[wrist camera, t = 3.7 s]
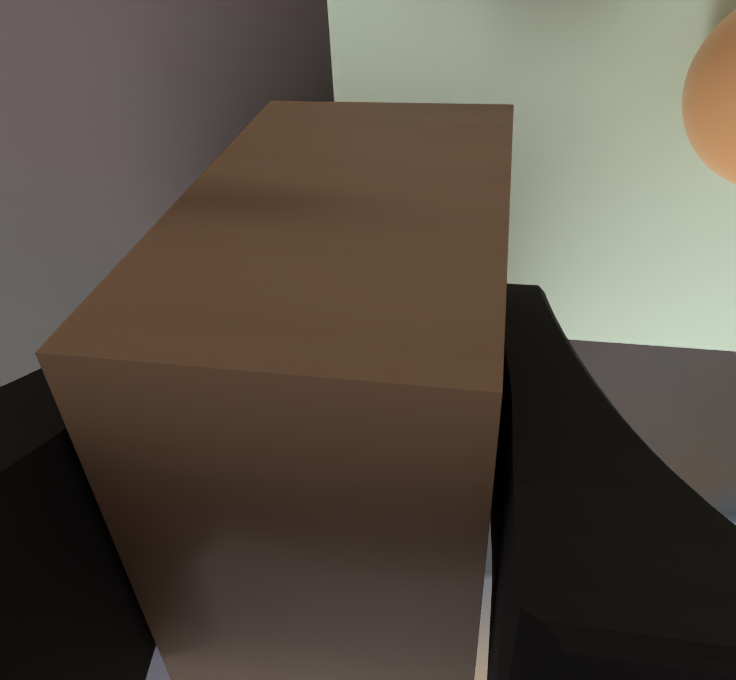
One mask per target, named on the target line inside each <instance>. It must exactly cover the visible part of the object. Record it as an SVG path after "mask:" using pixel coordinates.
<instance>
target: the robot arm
mask: <svg viewBox="0 0 736 680" xmlns="http://www.w3.org/2000/svg"><path fill="white" fill-rule="evenodd" d="M490 521H491V543H492V596H491V617H490V637H489V655H488V673H487V674H488V675H487V680H736V525H734V524H733V523H732V522H731V521H729V520H728V519H727V518H726V517H724V516H723V515H722V514H721V513H720V512H718V511H717V510H716V509H715V508H714V507H712V506H711V505H710V504H709V503H708V502H707V501H705V500H704V499H703V498H702V497H701V496H700V495H699V494H698V493H697V492H695V491H694V490H693V489H692V488H691V487H690V486H689V485H688V484H687V483H685V482H684V481H683V480H682V479H681V478H680V477H679V476H678V475H676V474H675V473H674V472H673V471H672V470H671V469H670V468H669V467H668V466H667V465H666V464H665V463H664V462H663V461H662V460H661V459H660V458H659V457H658V456H657V455H656V454H655V453H654V452H653V451H652V450H651V449H650V448H649V447H648V446H647V445H646V443H645V442H644V441H643V440H642V439H641V438H640V437H639V436H638V435H637V434H636V432H635V431H634V430H633V429H632V428H631V427H630V426H629V424H628V423H627V422H626V421H625V420H624V419H623V417H622V416H621V415H620V414H619V412H618V411H617V410H616V409H615V407H614V406H613V405H612V404H611V402H610V401H609V400H608V398H607V397H606V396H605V394H604V393H603V392H602V390H601V389H600V388H599V386H598V385H597V383H596V382H595V381H594V379H593V378H592V376H591V375H590V373H589V372H588V371H587V369H586V367H585V366H584V364H583V363H582V361H581V360H580V358H579V356H578V355H577V353H576V352H575V350H574V349H573V347H572V345H571V344H570V342H569V340H568V339H567V337H566V335H565V334H564V332H563V330H562V328H561V326H560V324H559V322H558V321H557V319H556V317H555V315H554V313H553V311H552V309H551V306H550V304H549V302H548V299H547V297H546V294H545V292H544V291H543V290H542V289H541V287H540V286H539V285H525V284H508V283H507V289H506V314H505V340H504V365H503V391H502V402H501V412H500V422H499V433H498V443H497V453H496V463H495V473H494V483H493V493H492V504H491V514H490ZM0 680H171V679H170V677H169V674H168V672H167V669H166V667H165V665H164V662H163V660H162V657H161V655H160V652H159V650H158V648H157V645H156V643H155V640H154V638H153V636H152V633H151V631H150V628H149V626H148V624H147V621H146V619H145V616H144V614H143V612H142V609H141V607H140V604H139V602H138V599H137V597H136V595H135V592H134V590H133V587H132V585H131V583H130V580H129V578H128V575H127V573H126V571H125V568H124V566H123V563H122V561H121V558H120V556H119V554H118V551H117V549H116V546H115V544H114V542H113V539H112V537H111V534H110V532H109V530H108V527H107V525H106V522H105V520H104V518H103V515H102V513H101V510H100V508H99V505H98V503H97V501H96V498H95V496H94V493H93V491H92V489H91V486H90V484H89V481H88V479H87V477H86V474H85V472H84V469H83V467H82V464H81V462H80V460H79V457H78V455H77V452H76V450H75V448H74V445H73V443H72V440H71V438H70V436H69V433H68V431H67V428H66V426H65V424H64V421H63V419H62V416H61V414H60V411H59V409H58V407H57V404H56V402H55V399H54V397H53V395H52V392H51V390H50V387H49V385H48V383H47V380H46V378H45V375H44V373H43V370H42V368H41V369H39V370H37V371H34V372H32V373H30V374H28V375H26V376H24V377H21V378H19V379H17V380H15V381H13V382H11V383H8V384H6V385H4V386H1V387H0Z"/></svg>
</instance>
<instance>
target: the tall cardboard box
mask: <svg viewBox="0 0 736 680" xmlns="http://www.w3.org/2000/svg"><path fill="white" fill-rule="evenodd" d="M513 111H514V104H454V103H389V102H324V101H270V102H269V103H268V104H267V105H266V106H265V107H264V108H263V109H262V110H261V111H260V113H259V114H258V115H257V116H256V117H255V118H254V119H253V120H252V121H251V122H250V123H249V124H248V125H247V126H246V128H245V129H244V130H243V131H242V132H241V133H240V134H239V135H238V136H237V137H236V138H235V139H234V140H233V141H232V142H231V144H230V145H229V146H228V147H227V148H226V149H225V150H224V151H223V152H222V153H221V154H220V155H219V156H218V157H217V159H216V160H215V161H214V162H213V163H212V164H211V165H210V166H209V167H208V168H207V169H206V170H205V171H204V172H203V174H202V175H201V176H200V177H199V178H198V179H197V180H196V181H195V182H194V183H193V184H192V185H191V186H190V187H189V189H188V190H187V191H186V192H185V193H184V194H183V195H182V196H181V197H180V198H179V199H178V200H177V201H176V202H175V204H174V205H173V206H172V207H171V208H170V209H169V210H168V211H167V212H166V213H165V214H164V215H163V216H162V217H161V219H160V220H159V221H158V222H157V223H156V224H155V225H154V226H153V227H152V228H151V229H150V230H149V231H148V232H147V234H146V235H145V236H144V237H143V238H142V239H141V240H140V241H139V242H138V243H137V244H136V245H135V246H134V247H133V248H132V250H131V251H130V252H129V253H128V254H127V255H126V256H125V257H124V258H123V259H122V260H121V261H120V262H119V263H118V265H117V266H116V267H115V268H114V269H113V270H112V271H111V272H110V273H109V274H108V275H107V276H106V277H105V278H104V280H103V281H102V282H101V283H100V284H99V285H98V286H97V287H96V288H95V289H94V290H93V291H92V292H91V293H90V295H89V296H88V297H87V298H86V299H85V300H84V301H83V302H82V303H81V304H80V305H79V306H78V307H77V308H76V310H75V311H74V312H73V313H72V314H71V315H70V316H69V317H68V318H67V319H66V320H65V321H64V322H63V323H62V325H61V326H60V327H59V328H58V329H57V330H56V331H55V332H54V333H53V334H52V335H51V336H50V337H49V338H48V340H47V341H46V342H45V343H44V344H43V345H42V346H41V347H40V348H39V349H38V350H37V351H36V352H35V354H36V356H37V358H38V361H39V363H40V366H41V368H42V370H43V373H44V375H45V378H46V380H47V383H48V385H49V387H50V390H51V392H52V395H53V397H54V399H55V402H56V404H57V407H58V409H59V411H60V414H61V416H62V419H63V421H64V424H65V426H66V428H67V431H68V433H69V436H70V438H71V440H72V443H73V445H74V448H75V450H76V452H77V455H78V457H79V460H80V462H81V464H82V467H83V469H84V472H85V474H86V477H87V479H88V481H89V484H90V486H91V489H92V491H93V493H94V496H95V498H96V501H97V503H98V505H99V508H100V510H101V513H102V515H103V518H104V520H105V522H106V525H107V527H108V530H109V532H110V534H111V537H112V539H113V542H114V544H115V546H116V549H117V551H118V554H119V556H120V558H121V561H122V563H123V566H124V568H125V571H126V573H127V575H128V578H129V580H130V583H131V585H132V587H133V590H134V592H135V595H136V597H137V599H138V602H139V604H140V607H141V609H142V612H143V614H144V616H145V619H146V621H147V624H148V626H149V628H150V631H151V633H152V636H153V638H154V640H155V643H156V645H157V648H158V650H159V652H160V655H161V657H162V660H163V662H164V665H165V667H166V669H167V672H168V674H169V677H170V679H171V680H474V676H475V666H476V655H477V645H478V634H479V625H480V615H481V605H482V594H483V584H484V575H485V564H486V554H487V544H488V534H489V524H490V514H491V504H492V493H493V483H494V473H495V463H496V453H497V443H498V433H499V422H500V412H501V402H502V391H503V365H504V340H505V314H506V289H507V264H508V238H509V213H510V187H511V162H512V136H513Z"/></svg>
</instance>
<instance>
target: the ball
mask: <svg viewBox="0 0 736 680" xmlns="http://www.w3.org/2000/svg"><path fill="white" fill-rule="evenodd" d="M682 117H683V124H684V127H685V131H686V134H687V137H688V140H689V142H690V144H691V146H692V148H693V149H694V151H695V152H696V154H697V155H698V157H699V158H700V159H701V161H702V162H703V163H704V164H705V165H706V166H707V167H708V168H709V169H710V170H712V171H713V172H714V173H716V174H717V175H719V176H720V177H722V178H723V179H725V180H727V181H729V182H731V183H733V184H735V185H736V9H735V10H734V11H733V12H731V13H730V14H729V15H728V16H727V17H726V18H724V19H723V20H722V21H721V22H720V23H719V24H718V25H717V26H716V27H715V28H714V29H713V31H712V32H711V33H710V34H709V35H708V36H707V38H706V39H705V40H704V42H703V43H702V45H701V46H700V48H699V49H698V51H697V53H696V55H695V56H694V58H693V60H692V62H691V65H690V67H689V69H688V72H687V76H686V79H685V82H684V88H683V94H682Z"/></svg>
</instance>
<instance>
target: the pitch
mask: <svg viewBox="0 0 736 680" xmlns="http://www.w3.org/2000/svg"><path fill="white" fill-rule="evenodd" d="M327 5H328V19H329V33H330V47H331V61H332V75H333V89H334V102H389V103H454V104H514V111H513V136H512V162H511V187H510V213H509V238H508V264H507V283H508V284H525V285H539V286H540V287H541V289H542V290H543V291H544V292H545V294H546V297H547V299H548V302H549V304H550V306H551V309H552V311H553V313H554V315H555V317H556V319H557V321H558V322H559V324H560V326H561V328H562V330H563V332H564V334H565V335H566V337H567V339H572V340H586V341H600V342H613V343H627V344H641V345H655V346H669V347H683V348H697V349H711V350H725V351H736V185H735V184H733V183H731V182H729V181H727V180H725V179H723V178H722V177H720V176H719V175H717V174H716V173H714V172H713V171H712V170H710V169H709V168H708V167H707V166H706V165H705V164H704V163H703V162H702V161H701V159H700V158H699V157H698V155H697V154H696V152H695V151H694V149H693V148H692V146H691V144H690V142H689V140H688V137H687V134H686V131H685V127H684V124H683V117H682V94H683V88H684V82H685V79H686V76H687V72H688V69H689V67H690V65H691V62H692V60H693V58H694V56H695V55H696V53H697V51H698V49H699V48H700V46H701V45H702V43H703V42H704V40H705V39H706V38H707V36H708V35H709V34H710V33H711V32H712V31H713V29H714V28H715V27H716V26H717V25H718V24H719V23H720V22H721V21H722V20H723V19H724V18H726V17H727V16H728V15H729V14H730V13H731V12H733V11H734V10H735V9H736V0H327Z"/></svg>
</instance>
